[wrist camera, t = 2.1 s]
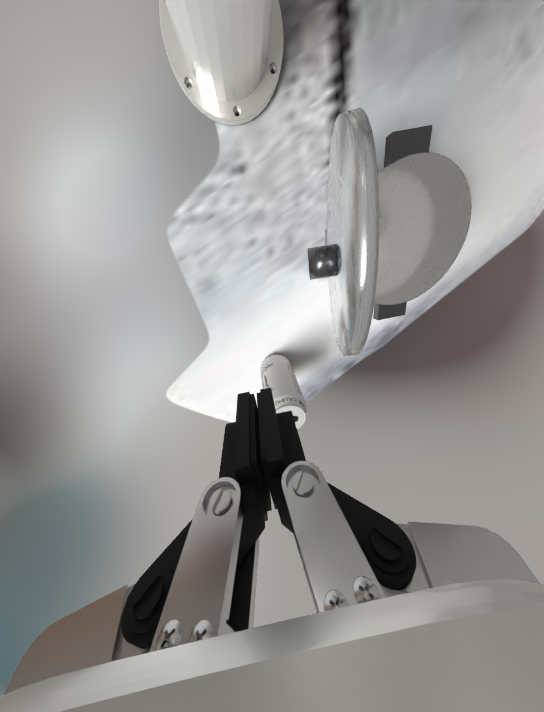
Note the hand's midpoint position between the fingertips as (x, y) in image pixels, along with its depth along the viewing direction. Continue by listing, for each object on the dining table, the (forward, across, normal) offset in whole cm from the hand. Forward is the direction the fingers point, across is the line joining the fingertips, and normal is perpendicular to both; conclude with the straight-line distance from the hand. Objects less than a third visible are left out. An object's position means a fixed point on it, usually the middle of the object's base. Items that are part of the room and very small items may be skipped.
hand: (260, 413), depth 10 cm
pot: (+27, -21, -6) cm, 35 cm away
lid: (+11, -10, -6) cm, 16 cm away
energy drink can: (+28, -2, +13) cm, 31 cm away
